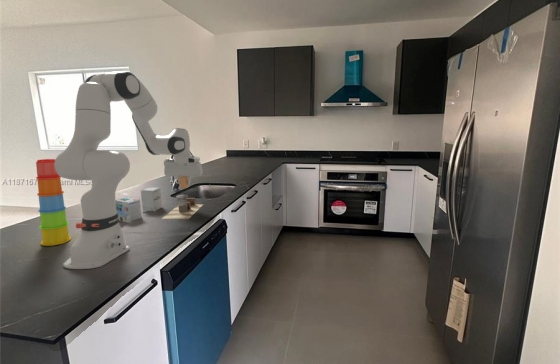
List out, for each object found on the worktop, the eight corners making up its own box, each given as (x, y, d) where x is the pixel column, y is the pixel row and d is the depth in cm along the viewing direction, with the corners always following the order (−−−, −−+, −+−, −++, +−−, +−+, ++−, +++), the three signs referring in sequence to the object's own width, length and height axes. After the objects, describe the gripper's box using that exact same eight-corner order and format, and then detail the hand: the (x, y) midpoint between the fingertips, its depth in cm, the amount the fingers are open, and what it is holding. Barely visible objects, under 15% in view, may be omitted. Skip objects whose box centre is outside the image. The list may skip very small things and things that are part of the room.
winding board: (188, 221, 149) (187, 202, 147) (161, 221, 149) (159, 202, 147) (203, 206, 174) (202, 189, 172) (180, 206, 175) (178, 189, 173)
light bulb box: (116, 220, 152) (114, 200, 149) (128, 216, 157) (126, 196, 155) (130, 223, 147) (128, 202, 144) (142, 219, 152) (140, 199, 150)
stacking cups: (53, 237, 131) (39, 158, 124) (76, 236, 131) (63, 158, 124) (34, 246, 121) (17, 162, 114) (59, 246, 121) (44, 161, 114)
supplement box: (154, 213, 162) (152, 190, 159) (142, 212, 164) (140, 190, 161) (162, 209, 169) (160, 187, 167) (150, 208, 171) (148, 187, 168)
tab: (185, 188, 162) (185, 177, 161) (180, 188, 162) (179, 177, 161) (189, 186, 167) (188, 175, 166) (183, 186, 167) (182, 175, 166)
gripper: (161, 159, 159) (163, 185, 161) (199, 159, 158) (200, 185, 161) (165, 158, 165) (168, 182, 168) (202, 158, 164) (204, 182, 167)
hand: (184, 184), depth 164 cm, fingers closed on tab, 3 cm apart
